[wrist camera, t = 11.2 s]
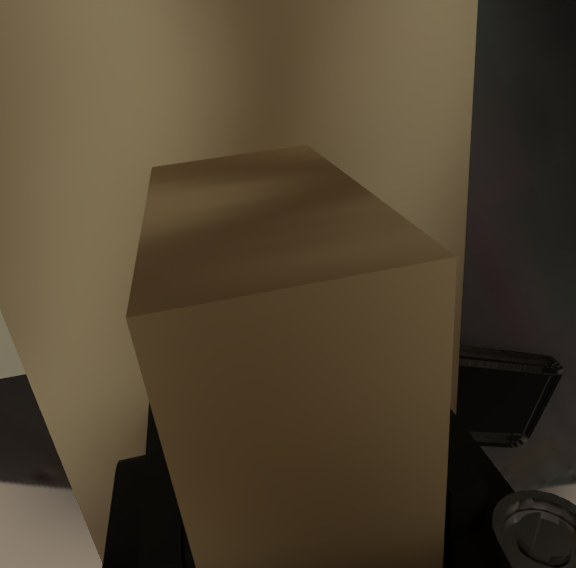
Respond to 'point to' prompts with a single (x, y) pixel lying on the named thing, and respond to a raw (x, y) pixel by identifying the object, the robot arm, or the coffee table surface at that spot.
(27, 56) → the grout float
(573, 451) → the coffee table surface
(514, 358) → the phone
